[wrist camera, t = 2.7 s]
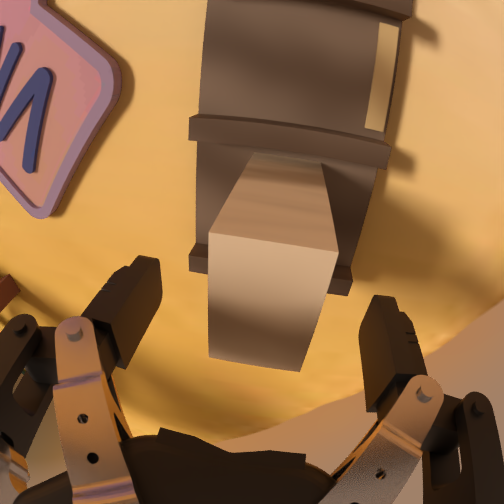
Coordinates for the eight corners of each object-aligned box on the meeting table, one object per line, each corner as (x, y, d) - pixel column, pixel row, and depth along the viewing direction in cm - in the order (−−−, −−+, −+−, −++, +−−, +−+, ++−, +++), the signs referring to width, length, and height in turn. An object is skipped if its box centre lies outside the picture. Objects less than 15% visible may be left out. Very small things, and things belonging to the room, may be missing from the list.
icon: (184, 10, 12) (43, 229, 21) (193, 14, 13) (53, 221, 22) (34, -72, 6) (-51, 111, 16) (45, -69, 7) (-41, 108, 17)
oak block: (254, 152, 16) (208, 232, 8) (323, 162, 16) (344, 253, 8) (245, 240, 19) (208, 356, 11) (305, 250, 19) (303, 372, 11)
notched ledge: (230, -111, 7) (221, -130, 5) (398, -90, 6) (409, -106, 4) (200, 249, 21) (189, 271, 19) (343, 272, 20) (347, 296, 18)
